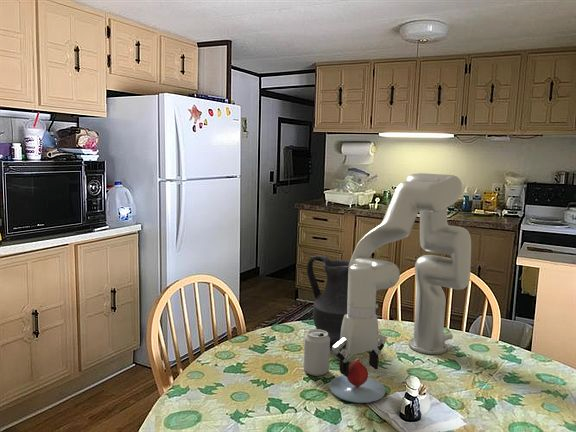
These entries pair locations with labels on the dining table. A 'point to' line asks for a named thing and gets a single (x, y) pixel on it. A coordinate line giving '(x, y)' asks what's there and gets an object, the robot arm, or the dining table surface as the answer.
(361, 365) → the onion
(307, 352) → the can
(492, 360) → the dining table surface
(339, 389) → the plate
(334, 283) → the pitcher
